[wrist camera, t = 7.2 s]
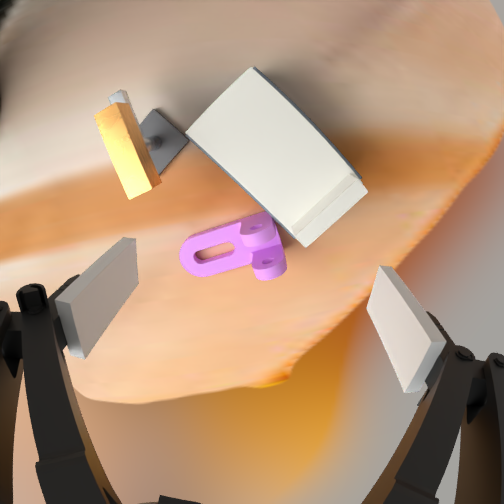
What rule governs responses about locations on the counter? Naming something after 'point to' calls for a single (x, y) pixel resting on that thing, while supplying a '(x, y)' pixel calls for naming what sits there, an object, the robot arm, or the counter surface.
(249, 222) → the bracket
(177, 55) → the counter surface
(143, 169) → the key
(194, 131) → the cover
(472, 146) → the counter surface
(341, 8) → the counter surface
